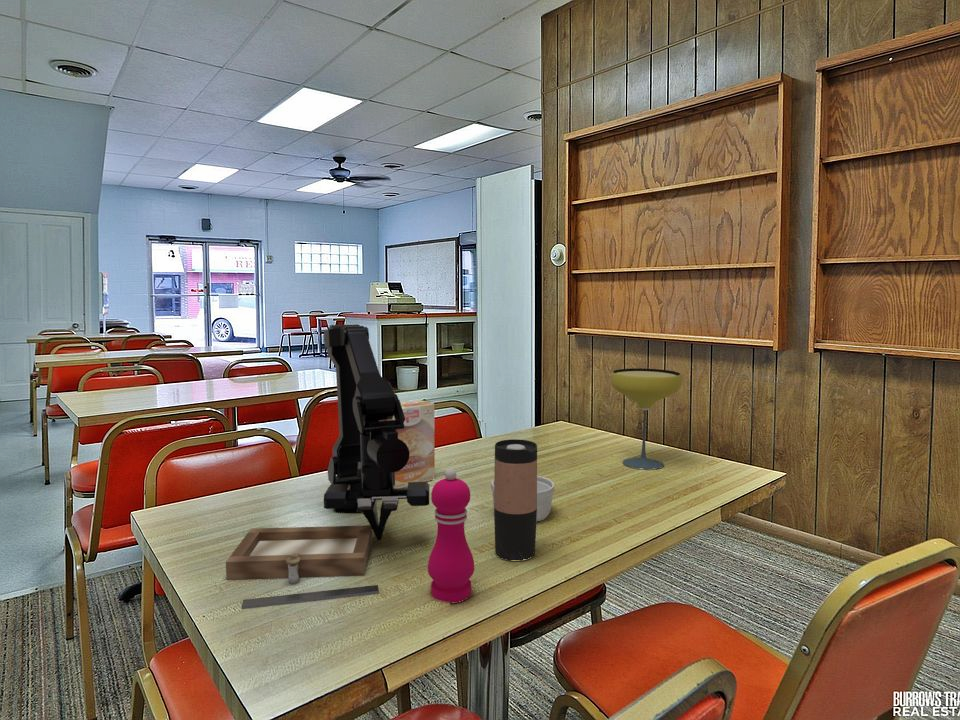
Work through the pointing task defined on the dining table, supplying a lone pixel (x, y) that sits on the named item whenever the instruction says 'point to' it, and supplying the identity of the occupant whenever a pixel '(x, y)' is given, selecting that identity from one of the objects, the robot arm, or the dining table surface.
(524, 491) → the travel mug
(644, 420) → the cocktail glass
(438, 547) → the pepper mill
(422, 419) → the coffeecake box
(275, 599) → the strip
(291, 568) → the screw post
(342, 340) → the robot arm
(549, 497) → the ramekin
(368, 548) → the picture frame
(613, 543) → the dining table surface
